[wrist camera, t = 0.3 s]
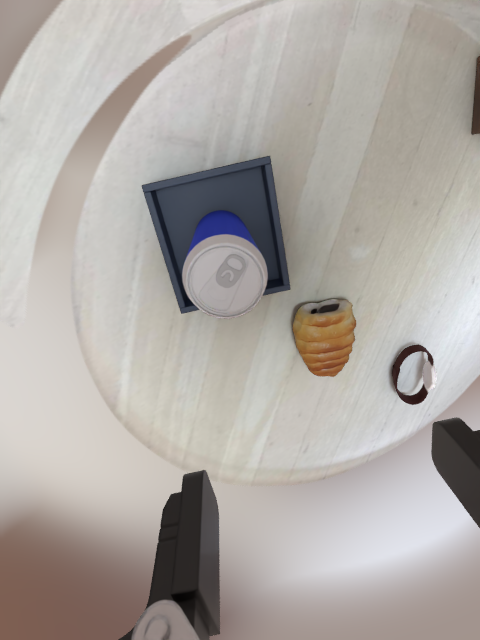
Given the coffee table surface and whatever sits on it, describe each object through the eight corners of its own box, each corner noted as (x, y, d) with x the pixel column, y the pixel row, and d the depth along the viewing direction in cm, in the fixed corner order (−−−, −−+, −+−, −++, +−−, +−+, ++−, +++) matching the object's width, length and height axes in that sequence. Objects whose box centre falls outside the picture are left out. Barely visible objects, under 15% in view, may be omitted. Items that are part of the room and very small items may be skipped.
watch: (421, 392, 43) (438, 410, 40) (385, 395, 43) (400, 414, 40) (430, 339, 40) (450, 354, 37) (392, 343, 40) (408, 359, 36)
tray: (147, 184, 31) (141, 185, 28) (265, 157, 31) (270, 155, 28) (183, 303, 36) (181, 314, 33) (284, 280, 36) (290, 289, 33)
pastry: (351, 364, 41) (363, 382, 37) (296, 374, 41) (304, 393, 37) (348, 293, 37) (361, 305, 33) (288, 304, 37) (295, 318, 33)
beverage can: (230, 271, 34) (241, 336, 21) (186, 246, 33) (165, 298, 19) (257, 227, 33) (287, 266, 19) (211, 199, 31) (207, 219, 18)
